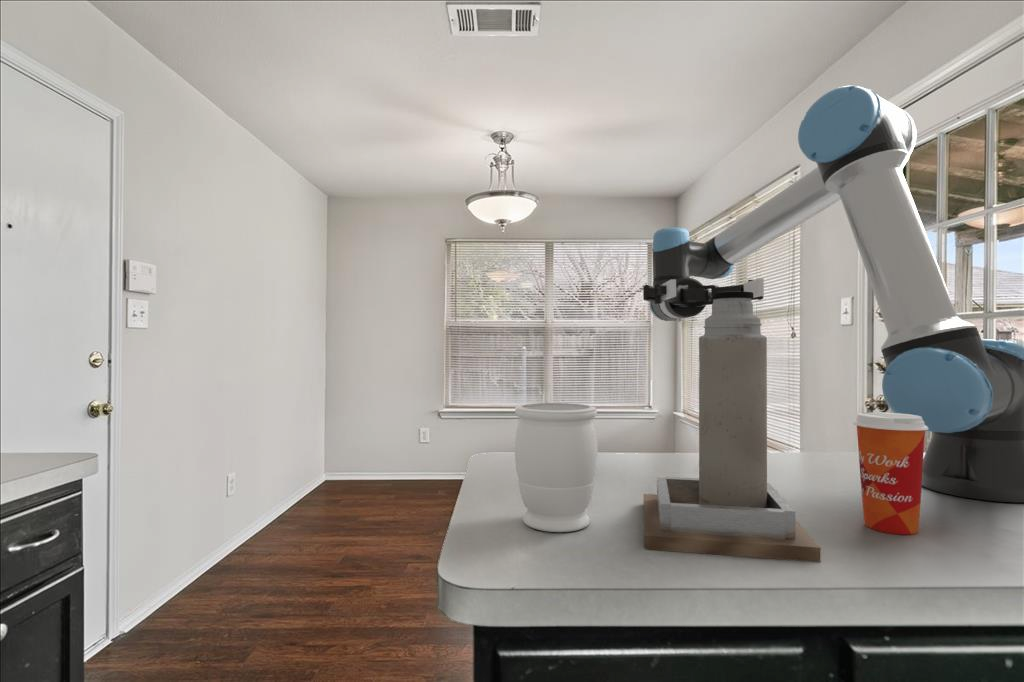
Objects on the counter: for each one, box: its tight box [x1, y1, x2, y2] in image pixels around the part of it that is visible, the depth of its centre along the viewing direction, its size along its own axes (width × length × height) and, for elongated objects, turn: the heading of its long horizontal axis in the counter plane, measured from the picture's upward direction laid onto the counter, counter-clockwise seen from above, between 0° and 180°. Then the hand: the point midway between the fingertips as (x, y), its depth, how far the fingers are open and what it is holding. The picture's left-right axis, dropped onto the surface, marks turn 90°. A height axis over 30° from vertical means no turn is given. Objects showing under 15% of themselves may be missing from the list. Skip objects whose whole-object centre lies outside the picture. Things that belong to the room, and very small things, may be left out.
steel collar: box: [656, 476, 797, 540], centre depth 70 cm, size 14×14×3 cm
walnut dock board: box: [643, 493, 822, 563], centre depth 70 cm, size 18×18×2 cm
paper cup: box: [853, 411, 928, 536], centre depth 70 cm, size 8×8×14 cm
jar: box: [514, 402, 599, 533], centre depth 72 cm, size 11×10×15 cm
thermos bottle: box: [698, 291, 768, 508], centre depth 71 cm, size 8×8×28 cm
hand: (717, 287), depth 88 cm, fingers open, 13 cm apart
